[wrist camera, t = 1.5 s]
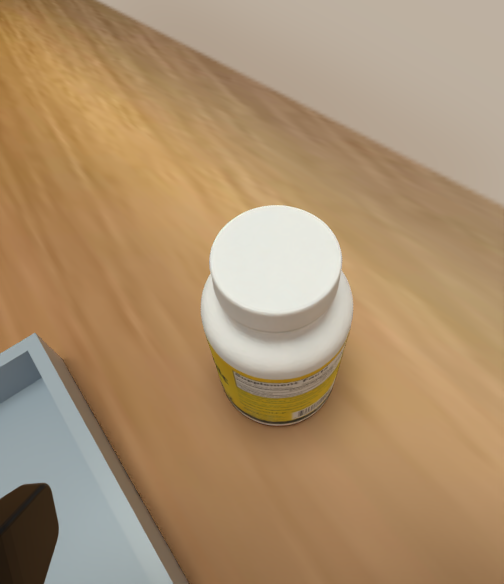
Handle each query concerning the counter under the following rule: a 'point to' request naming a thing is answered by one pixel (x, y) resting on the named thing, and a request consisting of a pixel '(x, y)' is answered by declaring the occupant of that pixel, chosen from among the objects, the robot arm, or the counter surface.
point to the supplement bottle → (276, 312)
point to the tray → (75, 475)
